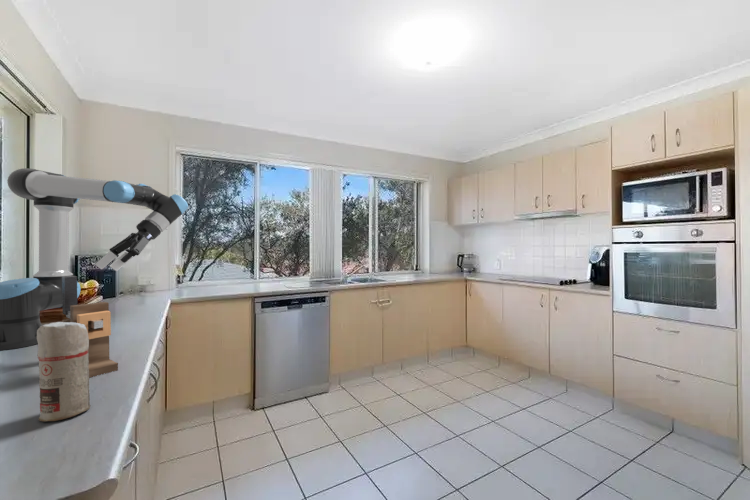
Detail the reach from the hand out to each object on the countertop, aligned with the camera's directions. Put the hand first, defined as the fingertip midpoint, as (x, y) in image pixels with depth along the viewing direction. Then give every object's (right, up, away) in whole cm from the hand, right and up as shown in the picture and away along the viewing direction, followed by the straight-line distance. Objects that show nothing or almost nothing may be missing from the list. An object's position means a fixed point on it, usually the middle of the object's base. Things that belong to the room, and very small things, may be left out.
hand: (105, 267), depth 115 cm
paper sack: (+26, -29, -43) cm, 59 cm away
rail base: (+4, -29, -14) cm, 32 cm away
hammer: (+4, -16, -14) cm, 21 cm away
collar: (+13, -19, -20) cm, 30 cm away
